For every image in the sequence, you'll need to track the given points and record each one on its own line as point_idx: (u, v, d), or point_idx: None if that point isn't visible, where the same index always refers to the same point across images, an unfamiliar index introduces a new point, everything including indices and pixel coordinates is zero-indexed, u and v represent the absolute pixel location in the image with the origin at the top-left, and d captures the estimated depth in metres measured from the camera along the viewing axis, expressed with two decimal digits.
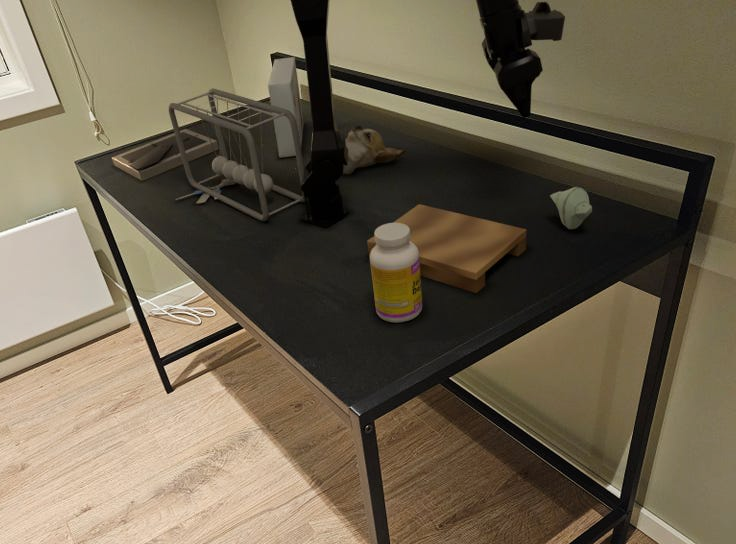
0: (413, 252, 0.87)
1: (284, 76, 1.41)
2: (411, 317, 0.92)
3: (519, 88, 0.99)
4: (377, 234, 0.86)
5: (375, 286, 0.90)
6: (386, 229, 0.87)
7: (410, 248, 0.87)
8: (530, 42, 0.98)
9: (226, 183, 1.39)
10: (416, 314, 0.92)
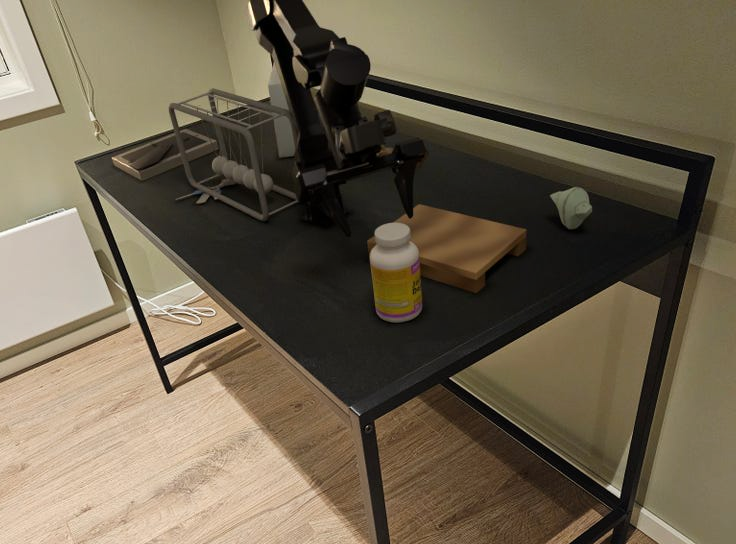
0: (413, 252, 0.87)
1: None
2: (411, 317, 0.92)
3: None
4: (377, 234, 0.86)
5: (375, 286, 0.90)
6: (386, 229, 0.87)
7: (410, 248, 0.87)
8: (340, 157, 0.89)
9: (226, 183, 1.39)
10: (416, 314, 0.92)
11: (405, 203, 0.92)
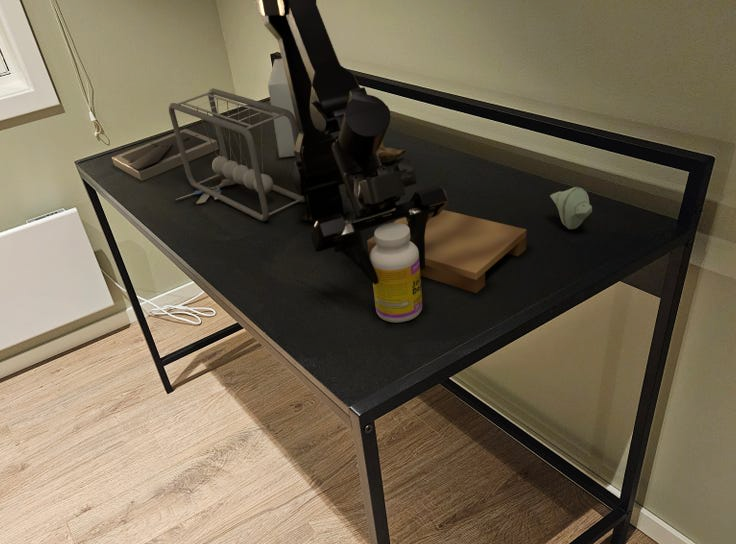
0: (413, 252, 0.87)
1: (284, 76, 1.41)
2: (411, 317, 0.92)
3: None
4: (377, 234, 0.86)
5: (375, 286, 0.90)
6: (386, 229, 0.87)
7: (409, 248, 0.87)
8: (359, 206, 0.87)
9: (226, 183, 1.39)
10: (416, 314, 0.92)
11: None
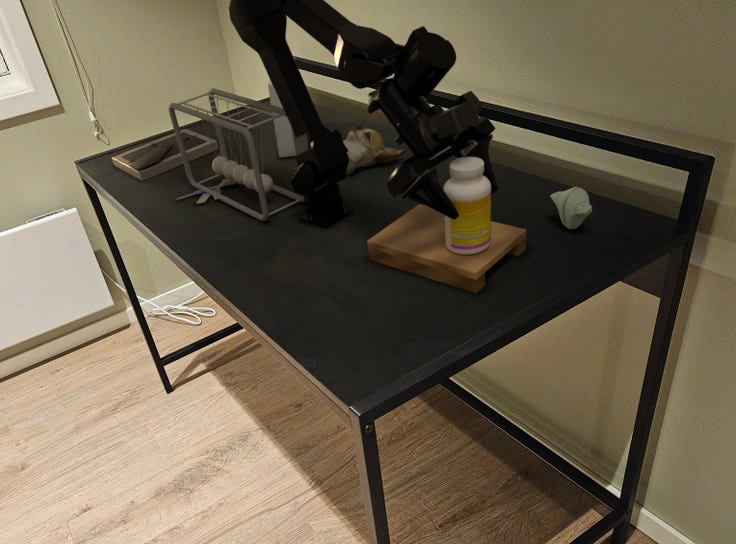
0: None
1: None
2: (488, 245, 0.96)
3: (428, 192, 0.91)
4: (456, 168, 0.90)
5: (456, 221, 0.93)
6: (459, 163, 0.91)
7: (483, 177, 0.92)
8: (433, 143, 0.90)
9: (226, 183, 1.39)
10: (490, 242, 0.97)
11: None
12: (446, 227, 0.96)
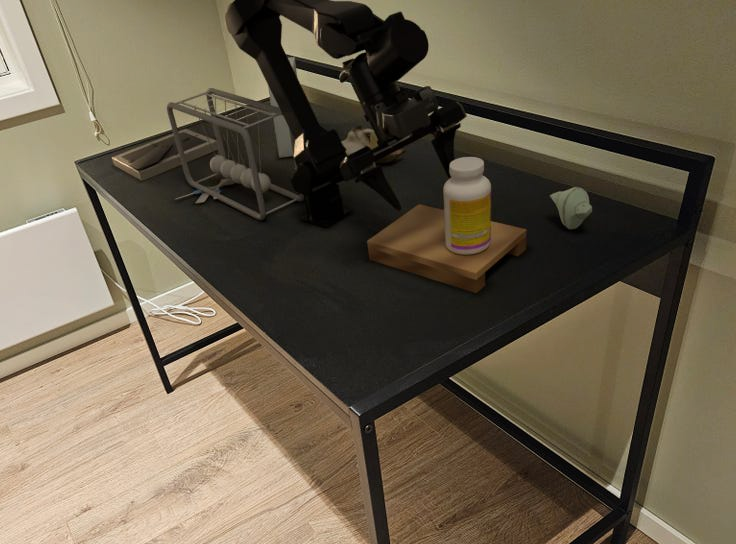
0: (487, 179, 0.92)
1: None
2: (488, 245, 0.96)
3: None
4: (456, 168, 0.90)
5: (456, 221, 0.93)
6: (459, 163, 0.91)
7: (483, 177, 0.92)
8: (384, 137, 0.91)
9: (225, 183, 1.39)
10: (490, 242, 0.97)
11: (447, 168, 0.96)
12: (446, 227, 0.96)
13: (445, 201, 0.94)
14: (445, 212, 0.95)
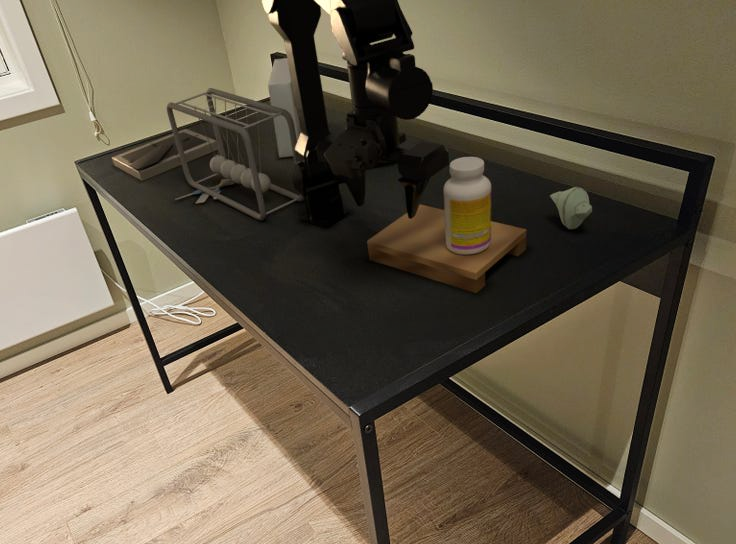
0: None
1: (284, 76, 1.41)
2: (488, 245, 0.97)
3: None
4: (456, 168, 0.90)
5: (456, 221, 0.94)
6: (460, 163, 0.91)
7: (483, 177, 0.92)
8: None
9: (225, 183, 1.39)
10: (490, 242, 0.97)
11: None
12: (446, 227, 0.96)
13: (445, 201, 0.94)
14: (445, 212, 0.95)
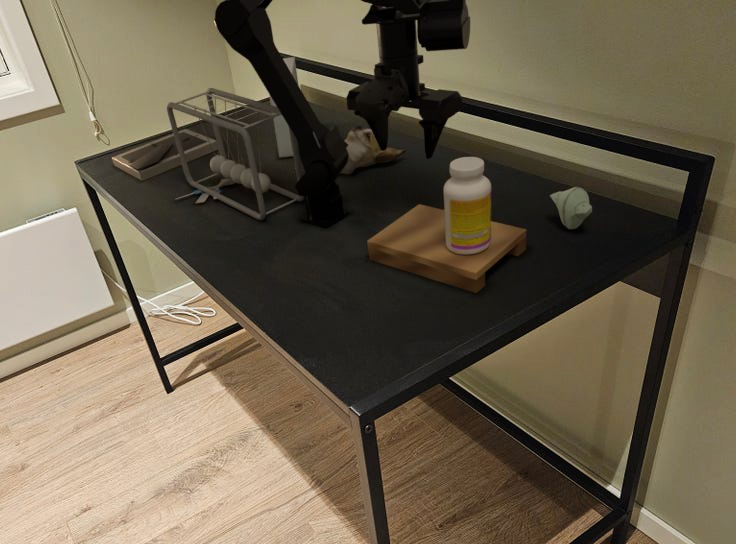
0: None
1: None
2: (488, 245, 0.97)
3: None
4: (456, 168, 0.90)
5: (456, 221, 0.94)
6: (460, 163, 0.91)
7: (483, 177, 0.92)
8: None
9: (225, 183, 1.39)
10: (490, 242, 0.97)
11: None
12: (446, 227, 0.96)
13: (445, 201, 0.94)
14: (445, 212, 0.95)
